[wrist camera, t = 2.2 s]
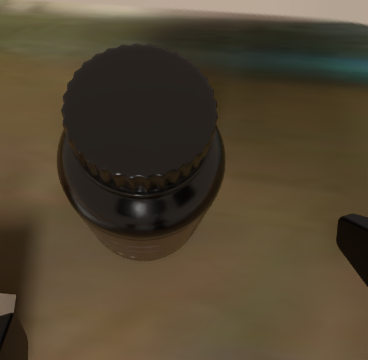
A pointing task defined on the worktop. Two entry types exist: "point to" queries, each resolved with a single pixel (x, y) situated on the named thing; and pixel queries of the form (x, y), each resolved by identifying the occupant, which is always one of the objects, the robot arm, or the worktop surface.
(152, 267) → the worktop surface
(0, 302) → the bin
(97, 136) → the supplement bottle
